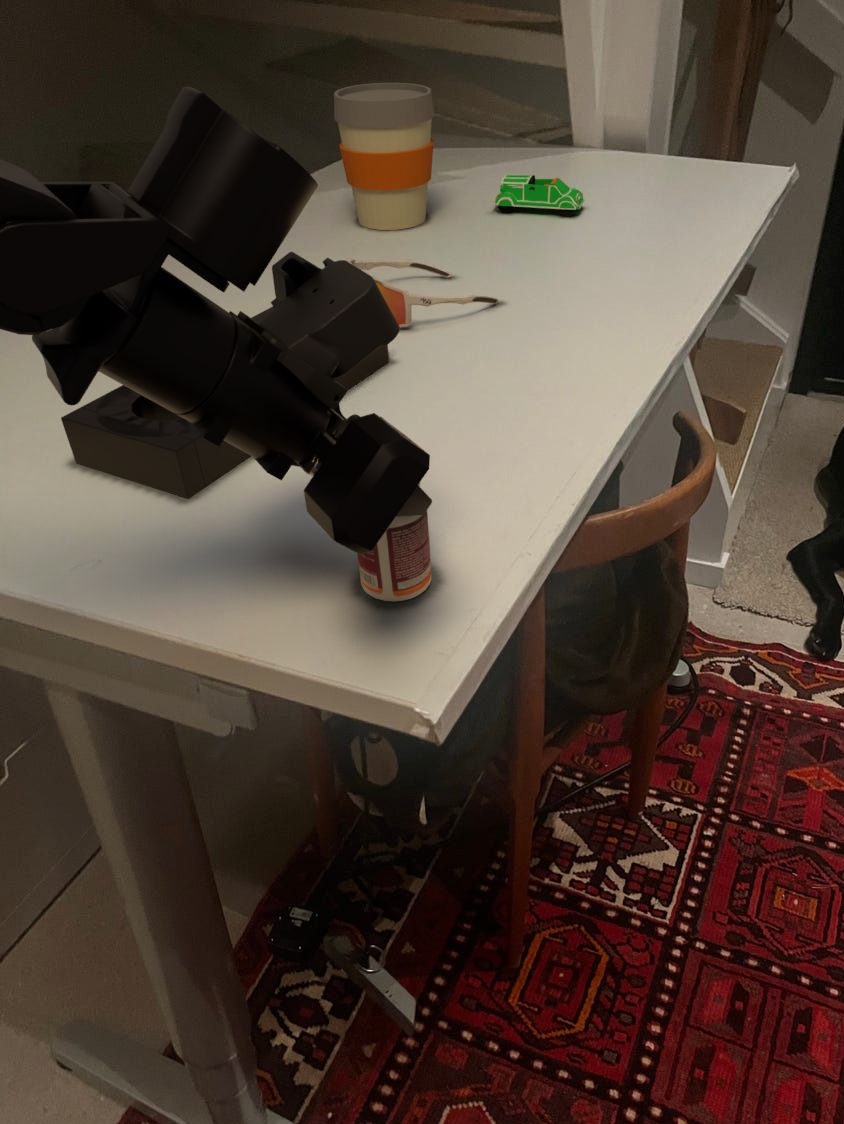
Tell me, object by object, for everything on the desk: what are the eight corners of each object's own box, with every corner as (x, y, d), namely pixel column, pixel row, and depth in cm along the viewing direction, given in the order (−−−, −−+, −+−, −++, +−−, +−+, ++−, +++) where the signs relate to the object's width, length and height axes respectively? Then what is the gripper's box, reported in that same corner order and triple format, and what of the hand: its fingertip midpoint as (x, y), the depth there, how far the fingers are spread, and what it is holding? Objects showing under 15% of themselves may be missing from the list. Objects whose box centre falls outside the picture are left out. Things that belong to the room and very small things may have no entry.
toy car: (491, 213, 126) (490, 178, 123) (500, 202, 129) (500, 168, 127) (578, 218, 123) (579, 182, 120) (584, 207, 127) (586, 172, 124)
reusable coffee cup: (346, 236, 119) (332, 104, 109) (344, 209, 128) (331, 84, 119) (443, 231, 120) (437, 99, 110) (434, 204, 129) (428, 80, 120)
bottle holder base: (188, 498, 70) (176, 451, 68) (75, 463, 75) (60, 417, 72) (389, 361, 89) (386, 320, 86) (289, 339, 93) (283, 300, 91)
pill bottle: (436, 562, 63) (430, 452, 58) (426, 605, 60) (418, 492, 54) (367, 559, 64) (355, 450, 58) (353, 601, 60) (339, 489, 55)
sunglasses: (323, 297, 102) (323, 250, 99) (440, 289, 109) (444, 244, 106) (384, 339, 92) (386, 288, 90) (507, 327, 100) (513, 280, 97)
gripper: (377, 276, 39) (575, 443, 50) (221, 182, 51) (409, 333, 63) (234, 493, 41) (456, 606, 52) (117, 352, 53) (318, 468, 64)
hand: (408, 490), depth 58 cm, fingers closed on pill bottle, 4 cm apart
